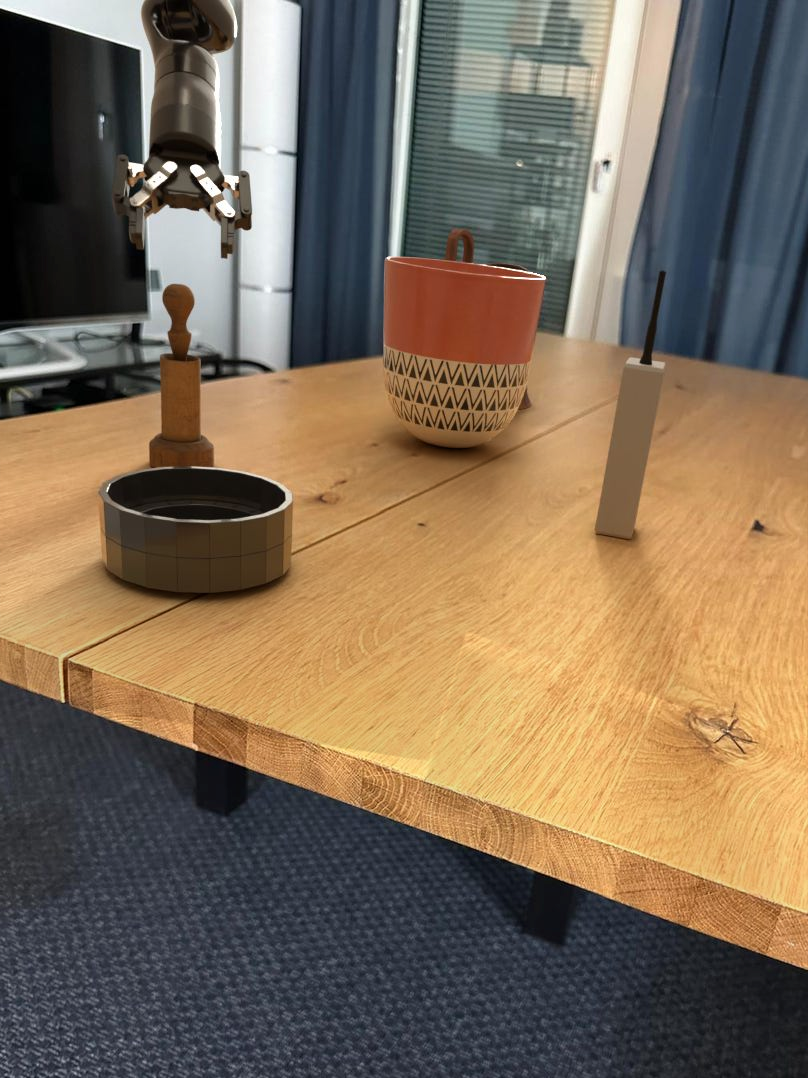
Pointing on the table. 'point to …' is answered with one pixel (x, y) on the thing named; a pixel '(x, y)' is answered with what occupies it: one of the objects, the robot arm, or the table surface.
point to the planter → (457, 346)
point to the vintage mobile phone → (631, 435)
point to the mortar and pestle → (180, 392)
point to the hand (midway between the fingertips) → (182, 248)
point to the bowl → (195, 528)
